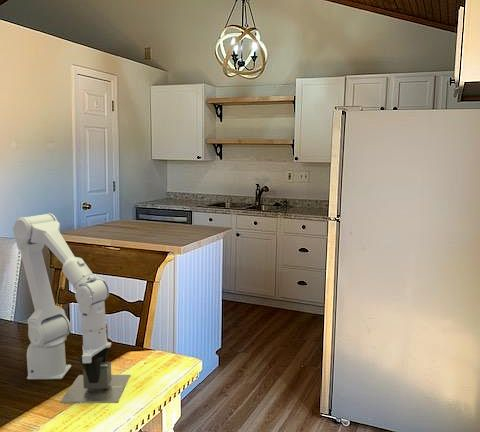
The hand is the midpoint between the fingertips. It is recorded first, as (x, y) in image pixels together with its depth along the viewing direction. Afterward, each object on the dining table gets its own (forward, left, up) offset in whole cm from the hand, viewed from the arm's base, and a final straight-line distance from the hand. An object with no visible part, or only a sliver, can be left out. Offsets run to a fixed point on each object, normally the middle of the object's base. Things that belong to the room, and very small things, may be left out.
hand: (96, 377), depth 127 cm
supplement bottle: (-6, +22, -3) cm, 23 cm away
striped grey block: (0, 0, -2) cm, 2 cm away
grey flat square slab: (0, 0, -3) cm, 3 cm away
